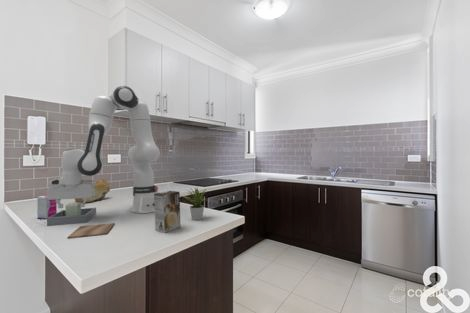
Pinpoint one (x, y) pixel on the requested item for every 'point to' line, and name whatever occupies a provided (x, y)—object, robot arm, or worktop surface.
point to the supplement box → (46, 207)
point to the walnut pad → (92, 230)
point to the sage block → (73, 209)
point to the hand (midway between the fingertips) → (71, 207)
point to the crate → (71, 217)
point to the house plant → (196, 204)
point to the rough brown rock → (97, 191)
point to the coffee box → (167, 211)
